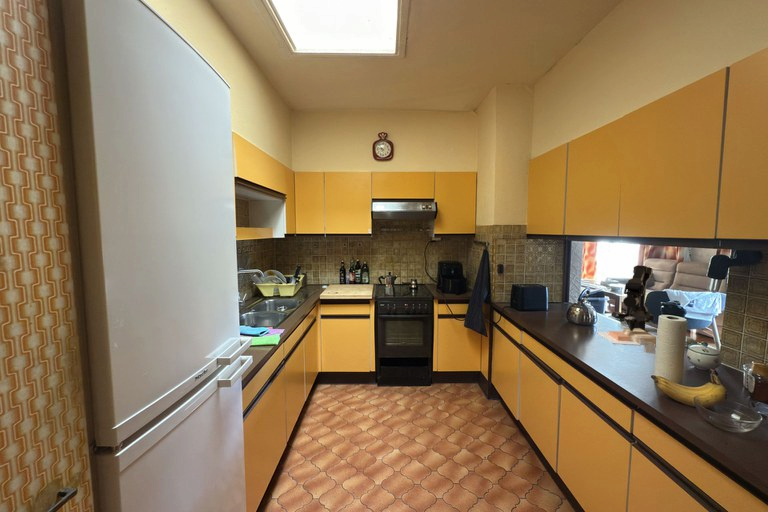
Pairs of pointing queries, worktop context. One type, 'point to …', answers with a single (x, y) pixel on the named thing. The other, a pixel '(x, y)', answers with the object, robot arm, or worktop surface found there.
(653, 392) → the worktop surface
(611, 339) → the mat
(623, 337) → the tile
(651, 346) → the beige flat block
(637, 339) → the board
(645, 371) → the worktop surface
